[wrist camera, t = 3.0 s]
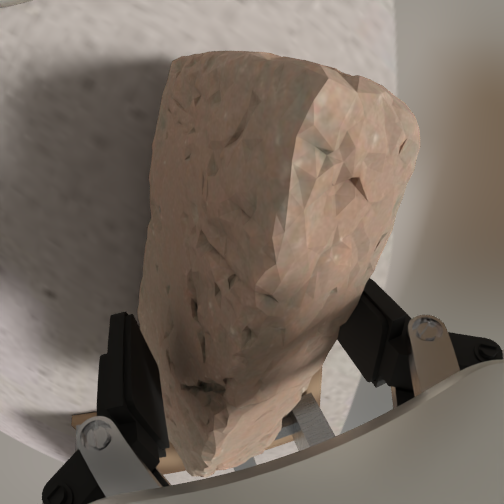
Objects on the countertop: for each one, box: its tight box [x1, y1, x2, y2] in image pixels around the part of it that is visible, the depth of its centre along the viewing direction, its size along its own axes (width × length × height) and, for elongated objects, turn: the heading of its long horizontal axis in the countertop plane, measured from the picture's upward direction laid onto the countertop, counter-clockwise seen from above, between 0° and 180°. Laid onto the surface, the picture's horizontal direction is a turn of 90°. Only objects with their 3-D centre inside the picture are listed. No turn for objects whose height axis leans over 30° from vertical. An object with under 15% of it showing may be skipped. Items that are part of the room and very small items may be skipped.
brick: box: [137, 51, 420, 477], centre depth 12 cm, size 17×8×5 cm
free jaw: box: [233, 393, 335, 471], centre depth 21 cm, size 12×8×8 cm, turn 8°
